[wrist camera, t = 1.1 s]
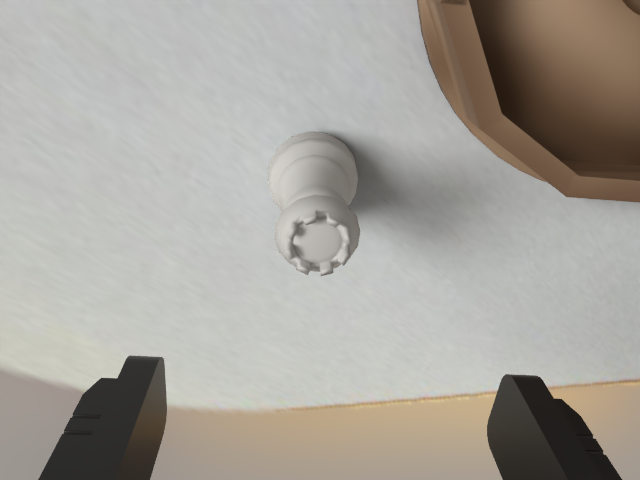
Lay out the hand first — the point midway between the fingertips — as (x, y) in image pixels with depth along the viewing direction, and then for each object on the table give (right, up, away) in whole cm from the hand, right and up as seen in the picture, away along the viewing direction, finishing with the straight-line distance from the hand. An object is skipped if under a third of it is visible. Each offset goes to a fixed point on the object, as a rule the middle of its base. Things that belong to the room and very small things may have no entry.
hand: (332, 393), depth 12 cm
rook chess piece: (-1, +7, +14) cm, 16 cm away
